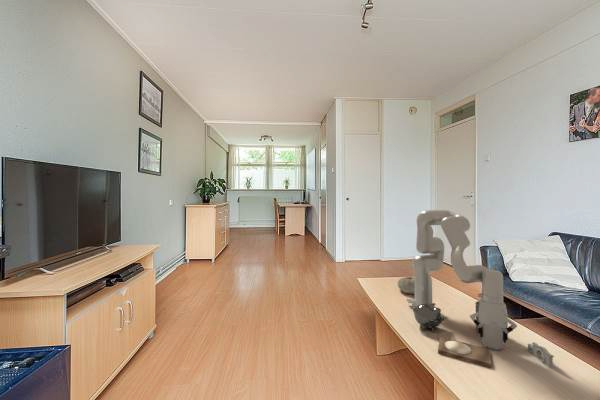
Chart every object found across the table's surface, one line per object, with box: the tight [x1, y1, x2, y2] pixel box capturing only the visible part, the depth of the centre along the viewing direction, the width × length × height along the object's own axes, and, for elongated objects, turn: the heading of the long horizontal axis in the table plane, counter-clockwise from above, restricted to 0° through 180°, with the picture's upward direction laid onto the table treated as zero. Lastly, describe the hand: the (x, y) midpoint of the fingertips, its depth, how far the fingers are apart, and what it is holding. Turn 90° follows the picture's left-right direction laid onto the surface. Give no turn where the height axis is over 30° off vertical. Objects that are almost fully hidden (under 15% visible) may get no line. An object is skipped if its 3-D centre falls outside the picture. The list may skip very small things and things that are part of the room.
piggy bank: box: [412, 302, 445, 331], centre depth 129 cm, size 11×15×12 cm
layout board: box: [437, 336, 492, 368], centre depth 107 cm, size 18×12×2 cm, turn 57°
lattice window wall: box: [527, 341, 555, 369], centre depth 102 cm, size 12×2×6 cm, turn 170°
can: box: [481, 321, 504, 351], centre depth 112 cm, size 8×8×12 cm
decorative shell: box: [397, 276, 415, 295], centre depth 179 cm, size 18×18×10 cm
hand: (492, 338), depth 112 cm, fingers closed on can, 7 cm apart
